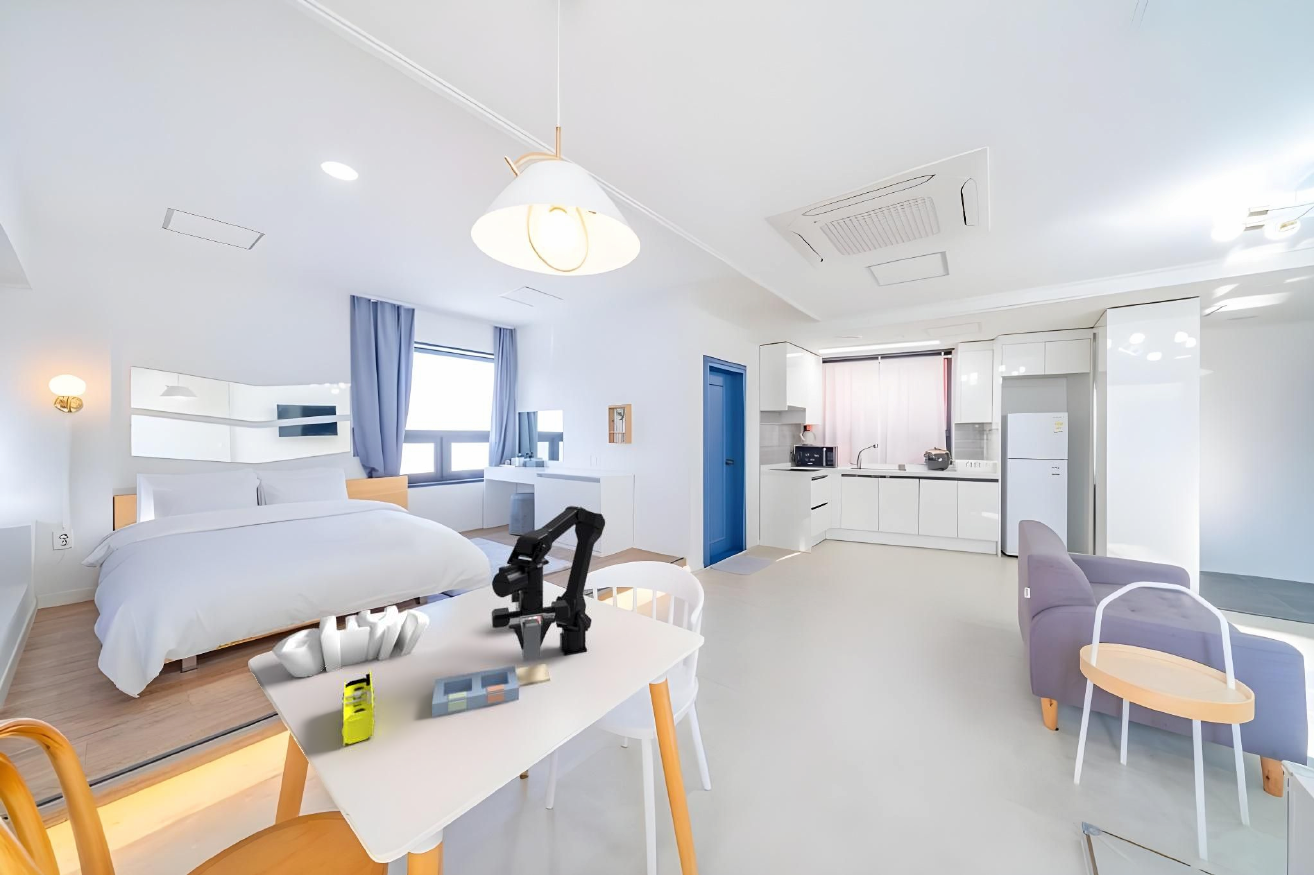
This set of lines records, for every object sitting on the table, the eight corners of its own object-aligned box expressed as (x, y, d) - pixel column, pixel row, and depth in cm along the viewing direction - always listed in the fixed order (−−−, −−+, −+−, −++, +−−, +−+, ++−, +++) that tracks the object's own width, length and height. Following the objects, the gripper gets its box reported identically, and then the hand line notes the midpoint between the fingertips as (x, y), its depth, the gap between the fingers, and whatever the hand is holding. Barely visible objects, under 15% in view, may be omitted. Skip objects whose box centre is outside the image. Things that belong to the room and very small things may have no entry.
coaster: (545, 666, 121) (545, 663, 121) (550, 681, 114) (550, 678, 114) (513, 672, 118) (513, 669, 118) (516, 688, 111) (516, 685, 111)
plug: (538, 650, 118) (538, 617, 118) (540, 657, 115) (540, 623, 115) (522, 653, 117) (522, 619, 117) (523, 660, 113) (523, 625, 113)
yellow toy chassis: (375, 740, 92) (376, 698, 92) (341, 750, 89) (341, 707, 89) (372, 701, 105) (372, 665, 105) (342, 710, 102) (342, 672, 102)
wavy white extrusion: (427, 633, 142) (427, 599, 142) (430, 655, 127) (430, 617, 127) (283, 660, 125) (283, 621, 125) (267, 689, 110) (267, 645, 110)
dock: (514, 677, 116) (514, 664, 116) (519, 701, 105) (519, 686, 105) (435, 692, 109) (435, 678, 109) (431, 718, 99) (432, 703, 99)
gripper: (562, 572, 127) (562, 629, 127) (490, 580, 120) (490, 640, 120) (570, 584, 116) (570, 646, 116) (492, 593, 109) (492, 659, 109)
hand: (531, 647), depth 116 cm, fingers closed on plug, 4 cm apart
